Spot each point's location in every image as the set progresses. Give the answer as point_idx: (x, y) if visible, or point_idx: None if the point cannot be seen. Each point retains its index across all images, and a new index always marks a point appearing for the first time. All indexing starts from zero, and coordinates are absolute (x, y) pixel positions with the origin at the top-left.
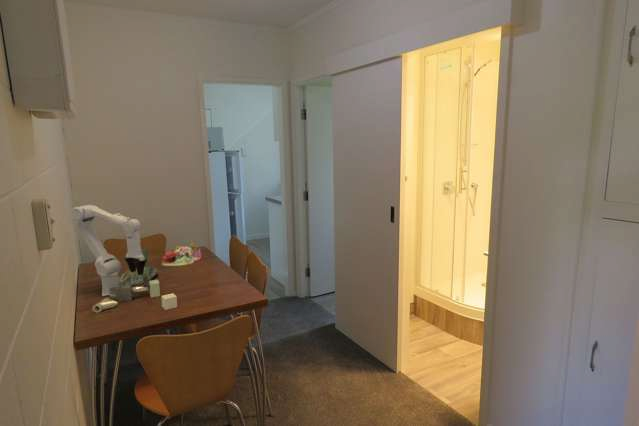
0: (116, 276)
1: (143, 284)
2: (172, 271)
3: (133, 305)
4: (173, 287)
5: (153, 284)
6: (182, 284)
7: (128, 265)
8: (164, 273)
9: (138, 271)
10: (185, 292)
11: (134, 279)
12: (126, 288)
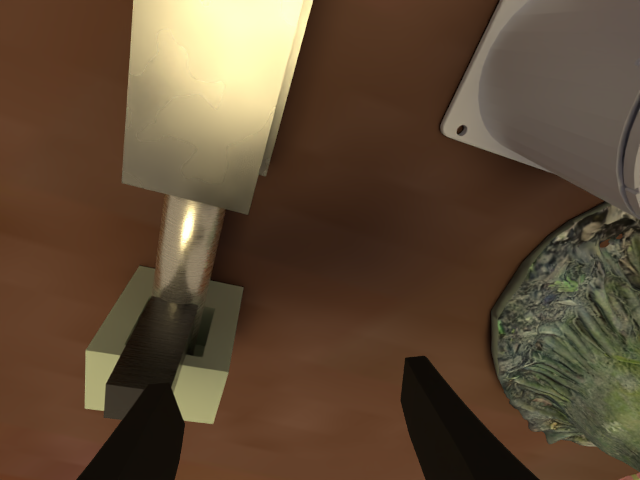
0: (603, 176)
1: (193, 313)
2: (526, 467)
3: (3, 91)
4: (253, 407)
5: (86, 369)
6: (268, 445)
7: (498, 457)
8: (540, 440)
9: (106, 448)
10: (107, 420)
11: (592, 311)
12: (127, 130)
